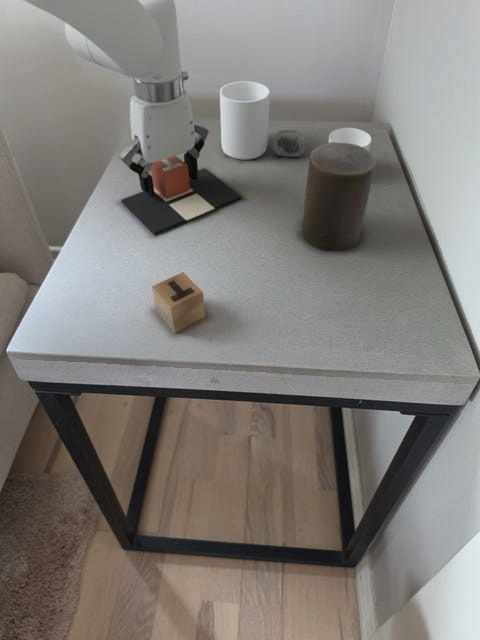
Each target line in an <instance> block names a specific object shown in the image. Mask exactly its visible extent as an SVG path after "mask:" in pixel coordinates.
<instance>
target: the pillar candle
mask: <svg viewBox="0 0 480 640" xmlns="http://www.w3.org/2000/svg"><path fill="white" fill-rule="evenodd" d="M376 164H377V160H376V155H375V154H374V152H372V151H370V150H369V151H368V150H366V149H365V148H363V147H360V146H358V145H354V144H349V143H337V142H335V143H334V142H330V143H328V142H327V143H324V144H321V145H319V146H318V145H317V147H315V148H314V149H312V151H311V152H310V156H309V163H308V169H307V170H308V172H307V179H306V180H307V181H306V187H305V195H304V205H303V213H302V221H301V234H302V238H303V239H304V240H305V241H306V242H307V243H308V244H309V245H311V246H312V247H315V248H317V249H320V250H321V251H327V252H337V251H345V250H348V249H350V248H353V247H354V246H355V245H356V244H357V243H358V242H359V240H360V237H361V234H362V233H361V232H362V228H363V227H362V226H363V223H364V218H365V214H366V210H367V205H368V202H369V196H370V192H371V187H372V182H373V177H374V174H375V167H376Z"/></svg>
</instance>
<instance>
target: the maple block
mask: <svg viewBox="0 0 480 640" xmlns="http://www.w3.org/2000/svg"><path fill="white" fill-rule="evenodd" d="M151 290H152V295H153V300H154V305H155V310H156V313H157V315H159V317H160V318H161V319H162V320H163V322H164V323H165V324H166V325H167V326H168V327H169V329H171V331H172V332H173V333H175V334H176V333H178V332H180V331H182V330H183V329H185V328H187V327H189V326H191V325H194V324H195V323H197V322H199V321H201V320H203V319H205V318H206V312H205V311H206V310H205V299H204V291H203V290H202V289H201V288H200V287H199V286H198V285H197V284H196V283H195V282H194V281H193V280H192V279H191V278H190V277H189V276H188V275H187V274H186V273H185V272H184V271H182V272H180V273H177V274H176V275H173V276H171V277H169V278H167V279H164V280H163V281H161V282H158V283H157V284H154V285H152V286H151Z"/></svg>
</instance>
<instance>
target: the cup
mask: <svg viewBox="0 0 480 640" xmlns="http://www.w3.org/2000/svg"><path fill="white" fill-rule="evenodd" d="M330 142H334V143H335V142H337V143H349V144H354V145H358V146H360V147H363V148H365V149H366V150H368V151H370V149H371V146H372V136H371V135H370V134H369V133H368V132H367V131H364V130H363V129H359V128H355V127H341V128H336V129H334V130H332V131H331V132H330V133H329V135H328V141H327V143H330Z"/></svg>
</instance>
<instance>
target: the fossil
mask: <svg viewBox="0 0 480 640" xmlns="http://www.w3.org/2000/svg"><path fill="white" fill-rule="evenodd" d="M272 145H273V149H274V151H275V153H276V155H278V156H279V157H280V156H281V157H287V158H288V157H289V158H294V157H296V158H297V157H301V156H302V155H303V153H304V151H305V148H306V140H305V137H304V134H303V133H302V132H301V131H299V130H291V129H290V130H286V129H284V130H279V131H278V132H277V133H275V135H274V137H273V139H272Z"/></svg>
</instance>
